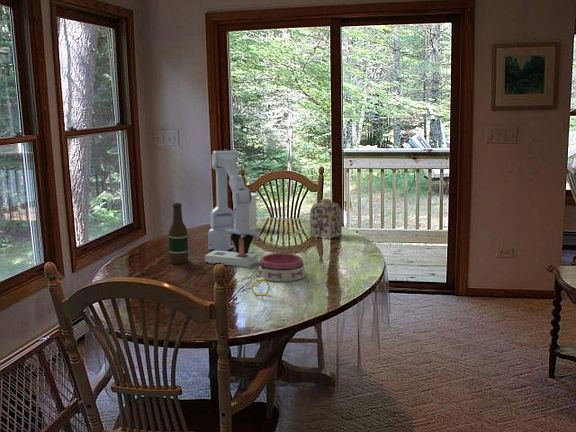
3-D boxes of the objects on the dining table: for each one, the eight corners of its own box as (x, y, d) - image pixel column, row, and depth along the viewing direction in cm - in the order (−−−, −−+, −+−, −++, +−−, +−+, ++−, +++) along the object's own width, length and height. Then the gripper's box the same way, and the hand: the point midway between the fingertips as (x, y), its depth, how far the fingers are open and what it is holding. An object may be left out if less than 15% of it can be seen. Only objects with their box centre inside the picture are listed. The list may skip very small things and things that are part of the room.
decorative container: (257, 231, 299) (257, 196, 296) (234, 231, 299) (233, 196, 296) (258, 226, 310) (258, 192, 307) (236, 226, 311) (236, 192, 307)
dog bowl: (312, 280, 219) (312, 262, 218) (263, 284, 214) (263, 266, 213) (297, 267, 236) (297, 250, 235) (251, 270, 231) (251, 253, 230)
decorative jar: (342, 235, 292) (342, 198, 288) (330, 239, 282) (331, 202, 279) (320, 232, 298) (321, 196, 295) (308, 236, 288) (309, 200, 285)
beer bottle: (192, 260, 245) (190, 202, 241) (182, 265, 238) (181, 205, 234) (175, 258, 248) (173, 201, 243) (165, 263, 241) (163, 204, 236)
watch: (252, 297, 200) (250, 280, 199) (252, 294, 203) (250, 278, 202) (270, 295, 201) (268, 278, 200) (269, 293, 203) (268, 276, 202)
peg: (237, 260, 240) (237, 238, 239) (240, 258, 243) (240, 237, 241) (244, 261, 239) (244, 239, 238) (247, 259, 242) (247, 237, 240)
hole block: (205, 262, 242) (204, 255, 241) (215, 257, 250) (214, 250, 250) (248, 266, 236) (248, 259, 235) (257, 261, 244) (257, 254, 243)
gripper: (221, 220, 237) (221, 253, 239) (255, 222, 232) (255, 256, 234) (228, 217, 243) (229, 249, 246) (261, 219, 238) (261, 252, 241)
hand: (242, 252), depth 241 cm, fingers closed on peg, 3 cm apart
